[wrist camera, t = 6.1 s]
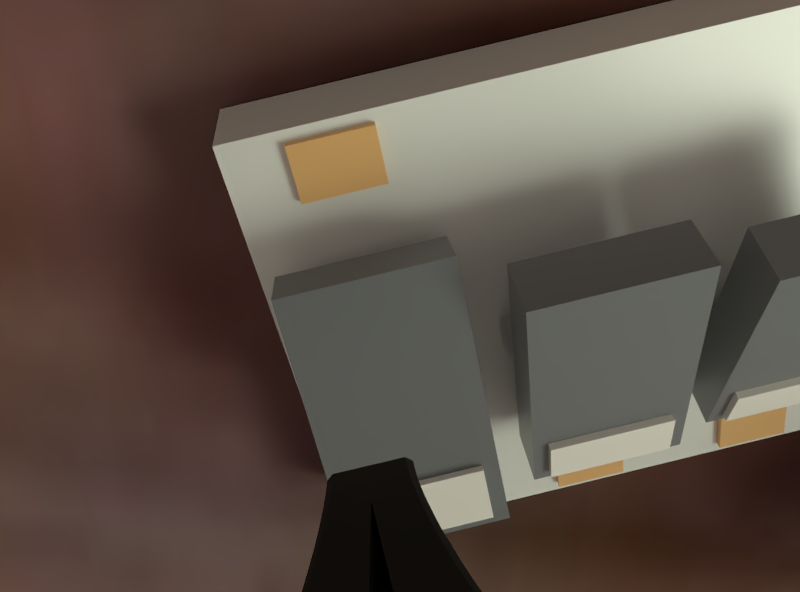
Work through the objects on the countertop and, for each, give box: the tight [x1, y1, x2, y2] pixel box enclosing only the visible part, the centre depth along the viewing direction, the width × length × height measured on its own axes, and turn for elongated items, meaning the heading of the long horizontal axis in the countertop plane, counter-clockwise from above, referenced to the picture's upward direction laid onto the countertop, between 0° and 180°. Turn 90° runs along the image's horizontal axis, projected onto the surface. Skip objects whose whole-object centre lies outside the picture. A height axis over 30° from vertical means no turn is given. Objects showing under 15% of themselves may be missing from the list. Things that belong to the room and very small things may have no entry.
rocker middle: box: [507, 219, 721, 480], centre depth 18 cm, size 4×7×2 cm, turn 12°
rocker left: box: [271, 236, 510, 534], centre depth 18 cm, size 4×7×2 cm, turn 11°
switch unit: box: [212, 0, 800, 501], centre depth 20 cm, size 15×13×4 cm
